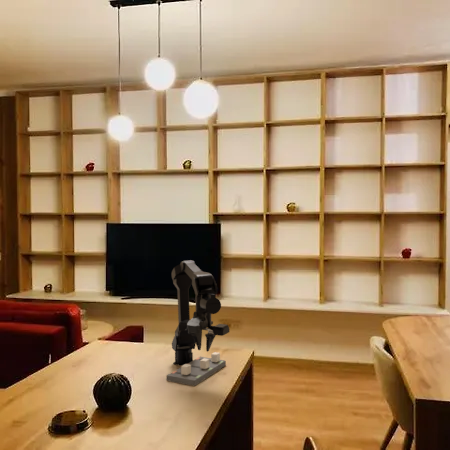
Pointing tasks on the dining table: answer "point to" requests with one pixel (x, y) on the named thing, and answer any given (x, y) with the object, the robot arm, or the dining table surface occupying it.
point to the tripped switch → (186, 369)
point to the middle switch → (204, 363)
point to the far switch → (215, 357)
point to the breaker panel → (196, 372)
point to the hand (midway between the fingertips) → (203, 350)
